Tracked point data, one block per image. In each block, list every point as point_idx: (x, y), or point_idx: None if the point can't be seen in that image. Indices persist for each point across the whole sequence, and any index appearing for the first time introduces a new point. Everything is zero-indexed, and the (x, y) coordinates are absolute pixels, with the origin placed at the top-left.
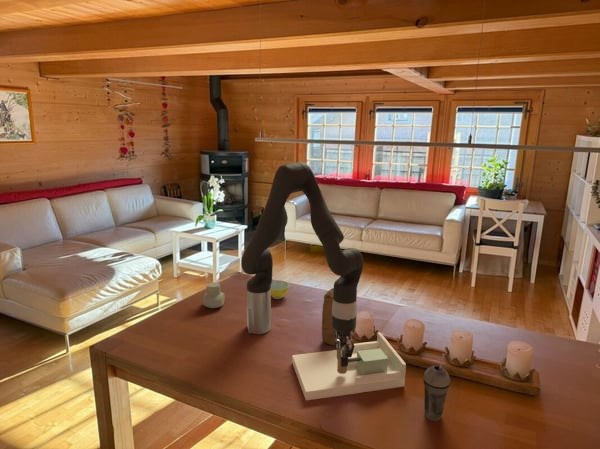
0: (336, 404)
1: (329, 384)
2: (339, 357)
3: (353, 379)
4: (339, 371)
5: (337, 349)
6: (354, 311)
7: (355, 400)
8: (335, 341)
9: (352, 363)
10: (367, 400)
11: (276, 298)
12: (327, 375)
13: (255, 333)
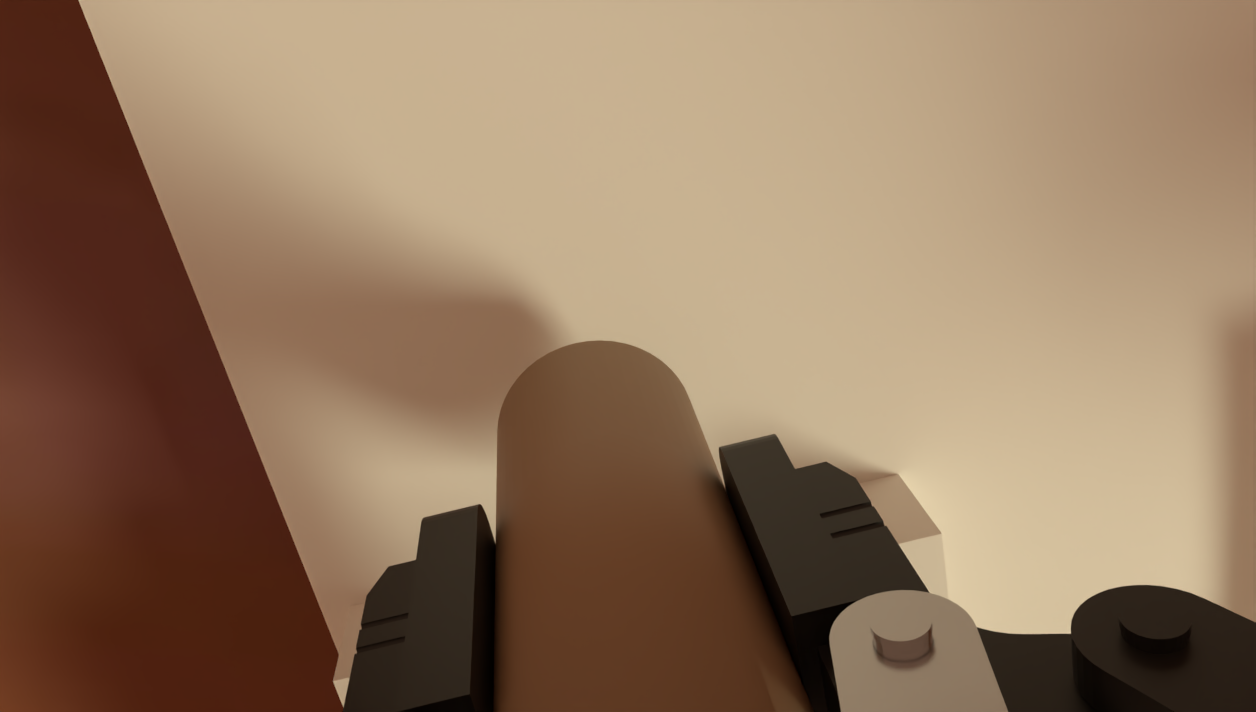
0: (10, 209)
1: (272, 135)
2: (531, 587)
3: None
4: (519, 396)
5: (835, 606)
6: None
7: (171, 499)
8: (1158, 669)
9: None
10: (199, 649)
11: None
12: (583, 111)
13: None
